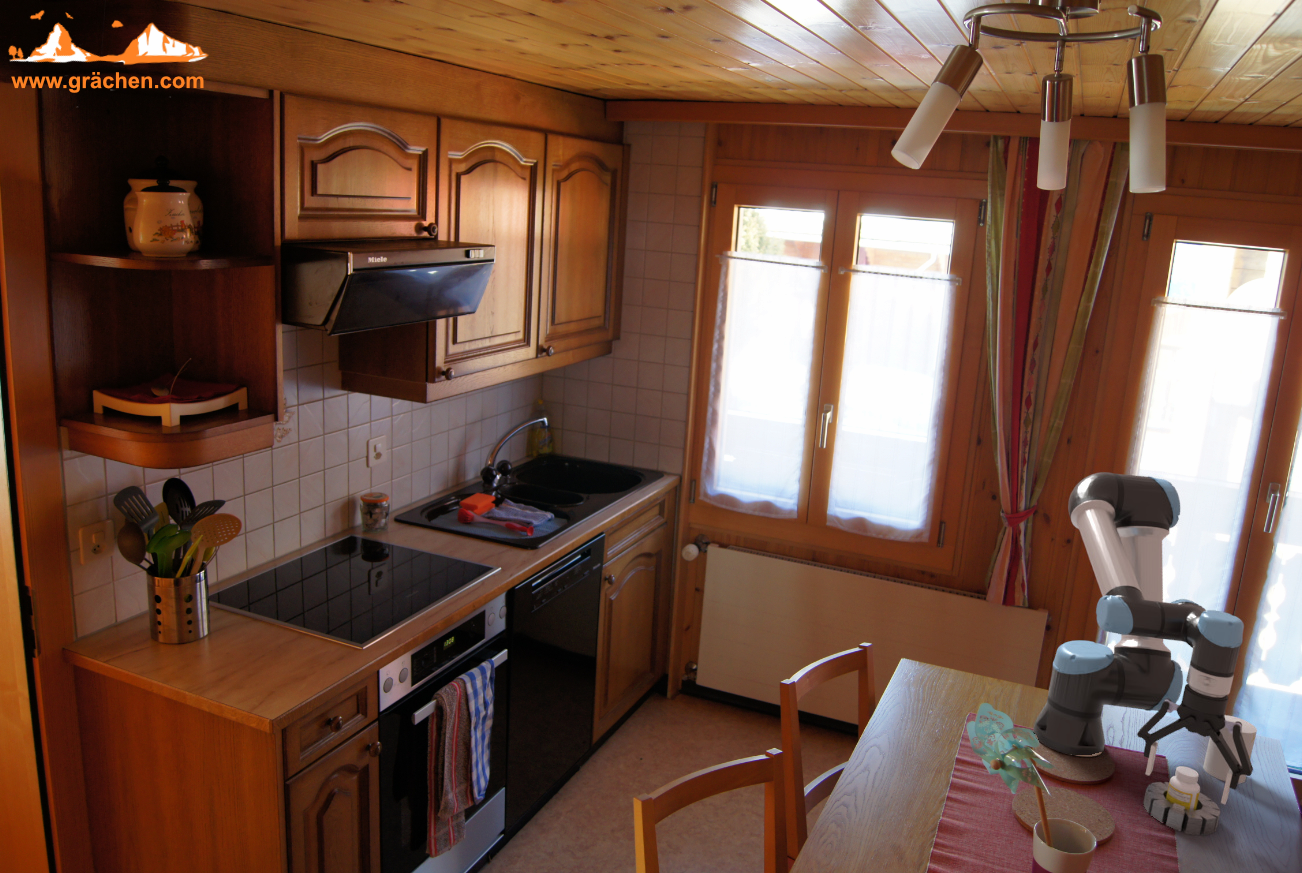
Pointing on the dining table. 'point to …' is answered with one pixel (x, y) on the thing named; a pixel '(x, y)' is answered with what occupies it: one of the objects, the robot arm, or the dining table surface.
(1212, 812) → the grey segmented ring
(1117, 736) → the dining table surface
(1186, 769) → the supplement bottle
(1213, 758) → the white cylinder
